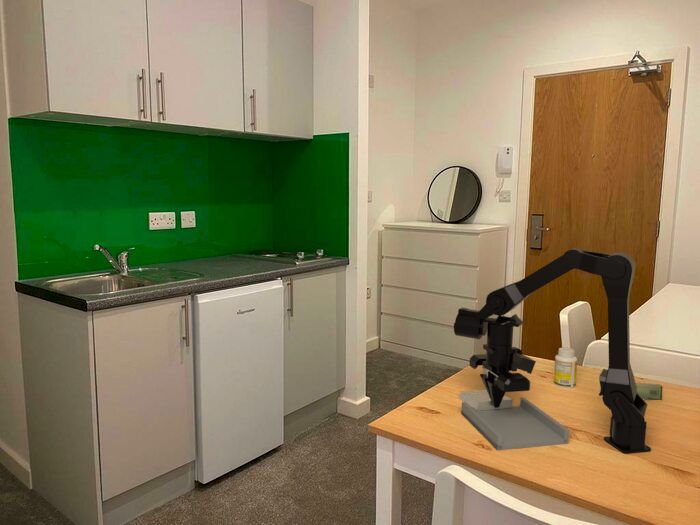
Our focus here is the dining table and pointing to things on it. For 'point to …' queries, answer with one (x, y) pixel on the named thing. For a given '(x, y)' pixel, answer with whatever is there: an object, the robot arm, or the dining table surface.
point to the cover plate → (483, 400)
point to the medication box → (649, 391)
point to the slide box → (516, 426)
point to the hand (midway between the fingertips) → (496, 407)
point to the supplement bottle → (565, 368)
